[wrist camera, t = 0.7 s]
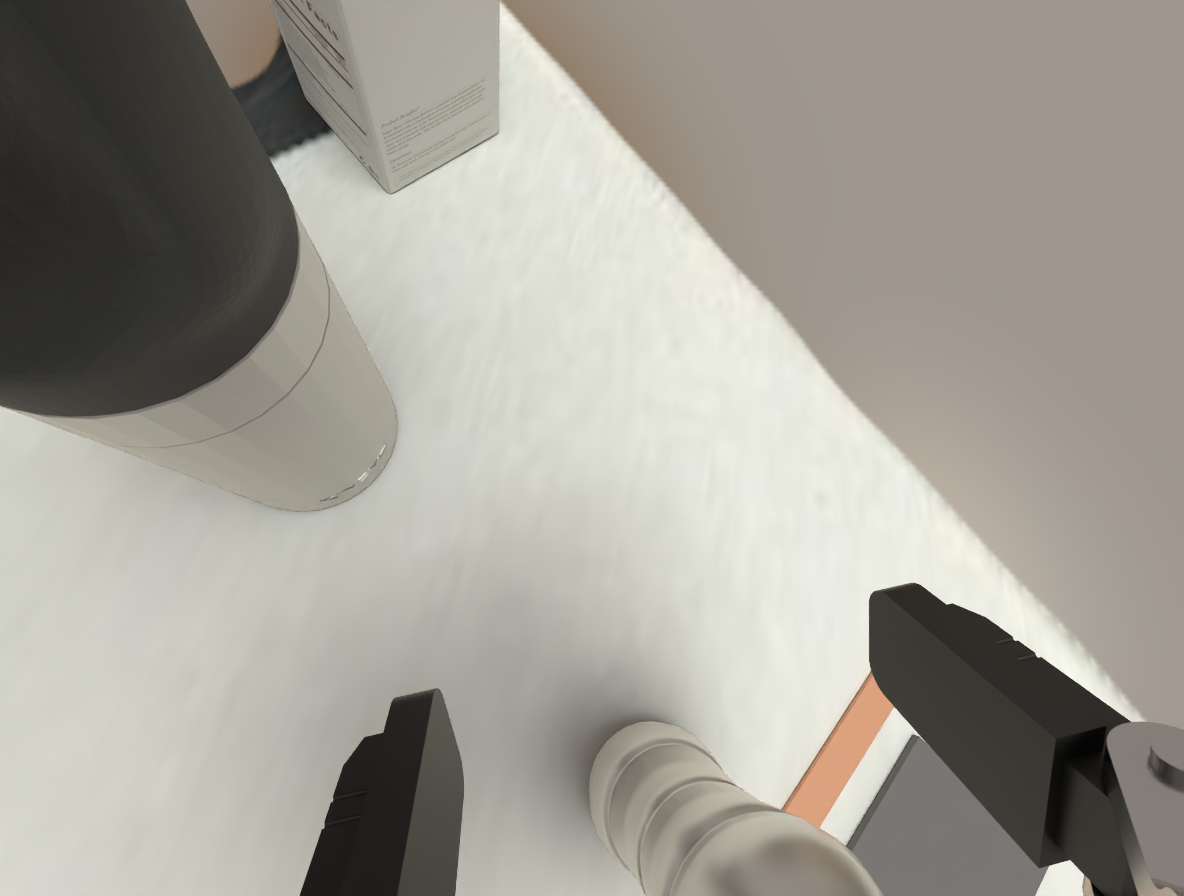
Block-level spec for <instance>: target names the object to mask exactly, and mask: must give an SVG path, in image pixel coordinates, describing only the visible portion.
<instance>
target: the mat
mask: <svg viewBox="0 0 1184 896" xmlns="http://www.w3.org/2000/svg"><path fill="white" fill-rule="evenodd" d="M847 848H848V849H849V850H850V851H851V852H852V853H854V854H855V856H856V857H857V858H858V860H859V861H860V862H861V864H862V865H863V866H864V868H865V869H866V870H867V871H868V873H869V874H870V876H871V877H872V879H873V880H874V882H875V883H876V885H877V886H878V888H879V889H880V891H881V892H882V894H883V896H1035V894H1036V892H1037V890H1038V888H1039V886H1040V884H1041V882H1042V880H1043V878H1044V875H1045V873H1046V871H1047V869H1048V867H1049V866H1046V867H1042V868H1038V867H1037V866H1036V865H1035V864H1034V863H1033V861H1032V860H1031V859H1030V858H1029V857H1028V856H1027V855H1026V854H1025V852H1024V851H1023V850H1022V849H1021V848H1020V847H1019V846H1018V845H1017V844H1016V842H1015V841H1014V840H1013V839H1012V838H1011V837H1010V836H1009V835H1008V833H1007V832H1006V831H1005V830H1004V829H1003V828H1002V827H1001V826H1000V824H999V823H998V822H997V821H996V820H995V819H994V818H993V817H992V816H991V814H990V813H989V812H988V811H987V810H986V809H985V808H984V807H983V805H982V804H981V803H980V802H979V801H978V800H977V799H976V798H975V796H974V795H973V794H972V793H971V792H970V791H969V790H968V789H967V788H966V786H965V785H964V784H963V783H962V782H961V781H960V780H959V779H958V777H957V776H956V775H955V774H954V773H953V772H952V771H951V770H950V768H949V767H948V766H947V765H946V764H945V763H944V762H943V761H942V759H941V758H940V757H939V756H938V755H937V754H936V753H935V752H934V751H933V749H932V748H931V747H930V746H929V745H928V744H927V743H925V742H924V741H923V740H922V739H921V738H920V737H919V736H916V735H913V736H912V737H911V739H910V741H909V742H908V744H907V746H906V747H905V749H904V751H903V753H902V754H901V756H900V758H899V759H898V761H897V763H896V764H895V766H894V768H893V769H892V771H891V773H890V774H889V776H888V778H887V779H886V781H885V783H884V784H883V786H882V788H881V790H880V791H879V793H878V795H877V796H876V798H875V800H874V801H873V803H872V805H871V806H870V808H869V810H868V811H867V813H866V815H865V816H864V818H863V820H862V822H861V823H860V825H859V827H858V828H857V830H856V832H855V833H854V835H853V837H852V838H851V840H850V842H849V843H848V845H847Z"/></svg>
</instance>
